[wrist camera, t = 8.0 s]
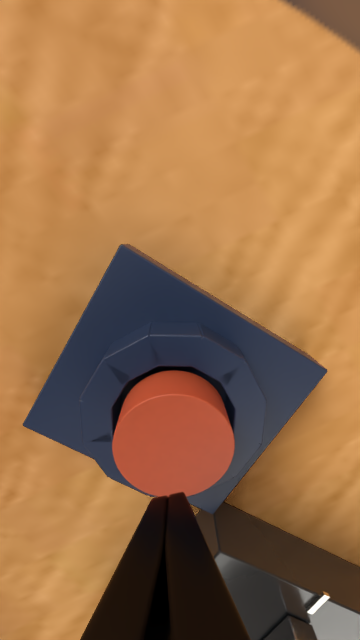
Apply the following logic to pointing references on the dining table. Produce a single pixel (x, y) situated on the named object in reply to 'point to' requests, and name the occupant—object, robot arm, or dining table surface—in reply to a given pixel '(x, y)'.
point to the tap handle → (292, 630)
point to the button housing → (169, 366)
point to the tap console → (282, 576)
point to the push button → (173, 435)
